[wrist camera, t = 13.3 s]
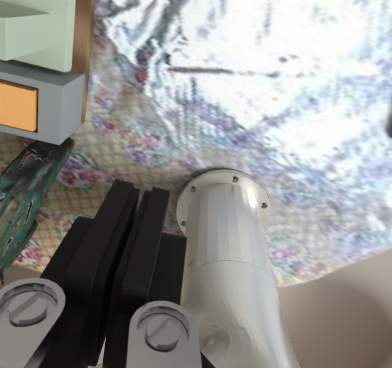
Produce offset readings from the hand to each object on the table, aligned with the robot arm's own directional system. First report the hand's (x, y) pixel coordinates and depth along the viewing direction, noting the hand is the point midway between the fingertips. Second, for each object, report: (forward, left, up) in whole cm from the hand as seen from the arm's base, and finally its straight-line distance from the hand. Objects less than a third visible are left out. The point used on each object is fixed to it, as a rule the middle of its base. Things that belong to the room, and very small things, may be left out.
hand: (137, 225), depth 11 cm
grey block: (-7, +16, -29) cm, 34 cm away
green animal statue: (-21, +17, -31) cm, 41 cm away
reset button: (-7, +16, -28) cm, 32 cm away
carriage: (0, +16, -28) cm, 32 cm away
